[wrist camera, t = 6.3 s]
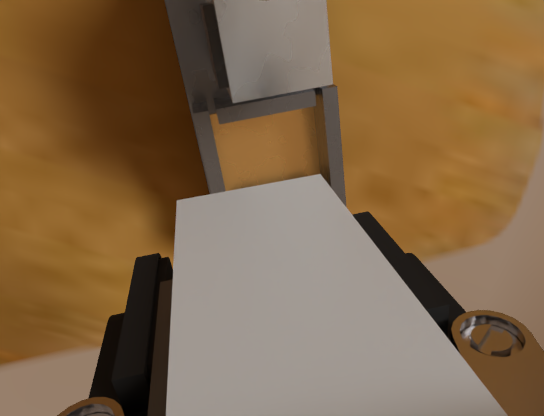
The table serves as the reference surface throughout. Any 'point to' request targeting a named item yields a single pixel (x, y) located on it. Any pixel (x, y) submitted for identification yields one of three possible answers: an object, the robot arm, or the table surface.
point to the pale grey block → (296, 317)
